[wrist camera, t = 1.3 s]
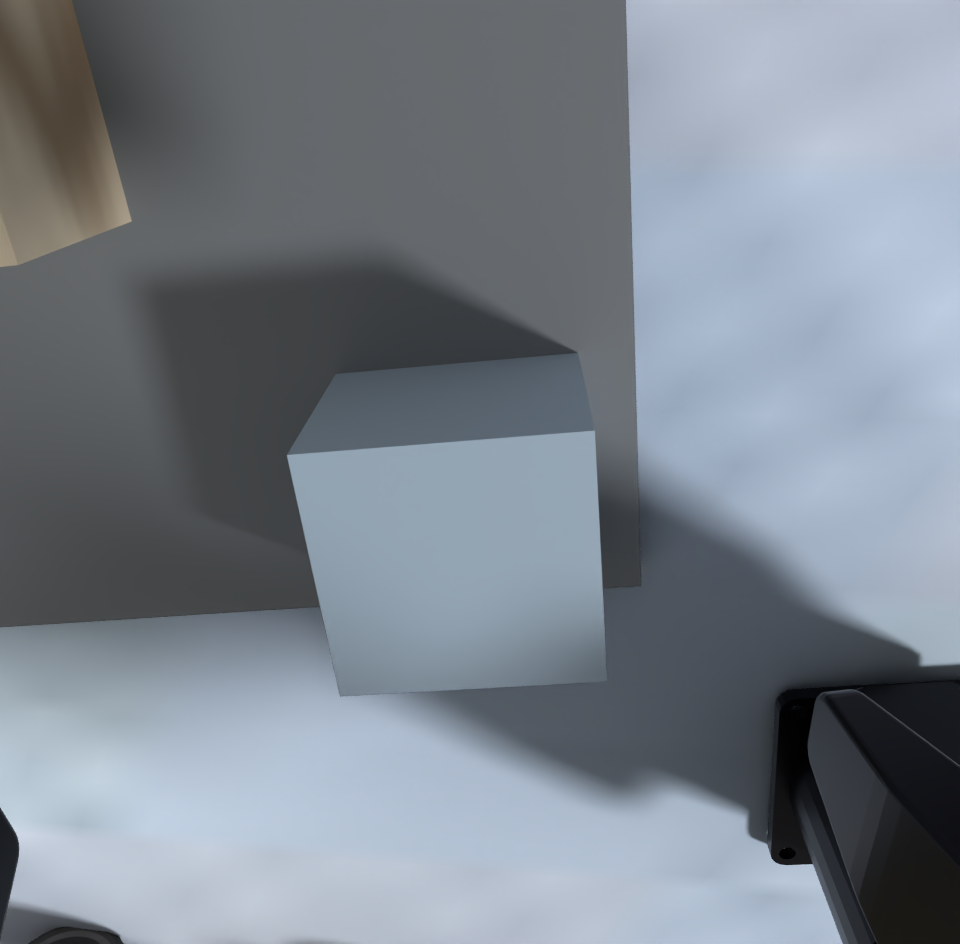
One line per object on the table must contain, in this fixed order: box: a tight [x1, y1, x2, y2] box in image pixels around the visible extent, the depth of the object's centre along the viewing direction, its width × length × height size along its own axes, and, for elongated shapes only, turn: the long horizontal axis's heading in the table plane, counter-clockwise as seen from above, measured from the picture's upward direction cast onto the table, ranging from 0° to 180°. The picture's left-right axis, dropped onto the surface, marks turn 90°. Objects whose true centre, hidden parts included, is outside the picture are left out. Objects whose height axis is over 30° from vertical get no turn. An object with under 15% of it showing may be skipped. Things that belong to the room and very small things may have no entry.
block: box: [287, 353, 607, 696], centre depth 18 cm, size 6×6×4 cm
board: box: [0, 0, 641, 627], centre depth 19 cm, size 18×18×1 cm
